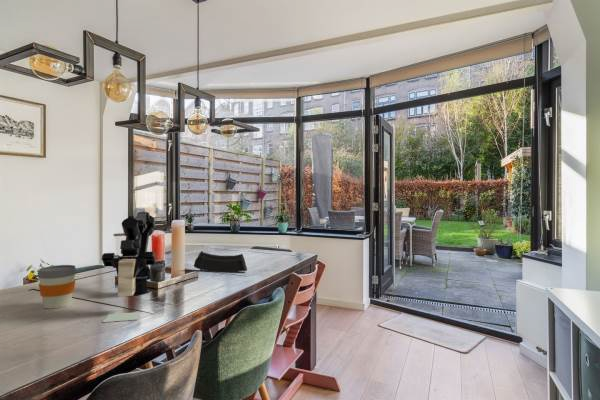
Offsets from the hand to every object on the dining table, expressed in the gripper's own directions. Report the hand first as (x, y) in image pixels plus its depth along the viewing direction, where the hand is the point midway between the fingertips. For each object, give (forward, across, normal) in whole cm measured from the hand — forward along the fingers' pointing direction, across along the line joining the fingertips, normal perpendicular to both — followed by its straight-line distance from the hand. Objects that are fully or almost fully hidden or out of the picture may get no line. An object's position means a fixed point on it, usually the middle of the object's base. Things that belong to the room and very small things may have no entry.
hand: (126, 277), depth 132 cm
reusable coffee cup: (-1, -28, +20) cm, 35 cm away
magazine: (-35, +37, +54) cm, 74 cm away
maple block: (+4, 0, +6) cm, 7 cm away
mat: (+14, 0, +5) cm, 15 cm away
